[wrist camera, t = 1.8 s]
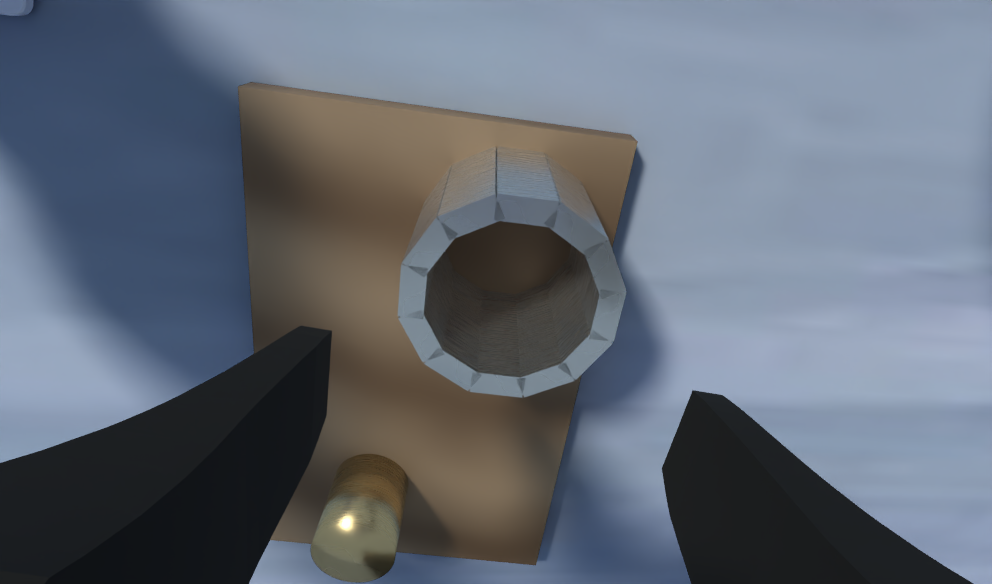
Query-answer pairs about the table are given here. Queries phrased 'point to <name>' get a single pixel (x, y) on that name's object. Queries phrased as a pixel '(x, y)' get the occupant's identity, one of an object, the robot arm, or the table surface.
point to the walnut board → (375, 295)
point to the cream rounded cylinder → (361, 519)
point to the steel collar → (503, 316)
